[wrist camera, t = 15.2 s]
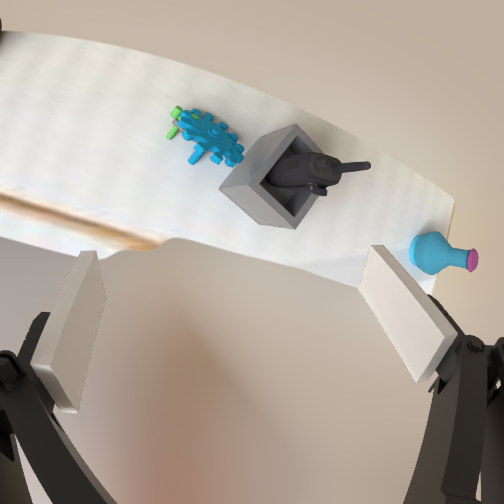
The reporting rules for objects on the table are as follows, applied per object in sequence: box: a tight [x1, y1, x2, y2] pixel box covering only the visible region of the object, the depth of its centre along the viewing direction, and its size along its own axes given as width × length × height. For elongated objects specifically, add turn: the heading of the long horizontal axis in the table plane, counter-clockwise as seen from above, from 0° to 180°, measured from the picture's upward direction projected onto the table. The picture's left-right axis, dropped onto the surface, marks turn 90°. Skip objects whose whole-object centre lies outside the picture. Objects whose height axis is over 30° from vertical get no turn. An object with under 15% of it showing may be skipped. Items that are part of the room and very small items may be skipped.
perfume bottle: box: [410, 232, 478, 275], centre depth 57 cm, size 9×9×15 cm
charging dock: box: [219, 124, 324, 229], centre depth 42 cm, size 8×10×10 cm
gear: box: [166, 106, 245, 167], centre depth 39 cm, size 11×6×10 cm
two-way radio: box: [265, 152, 371, 196], centre depth 34 cm, size 6×4×15 cm
